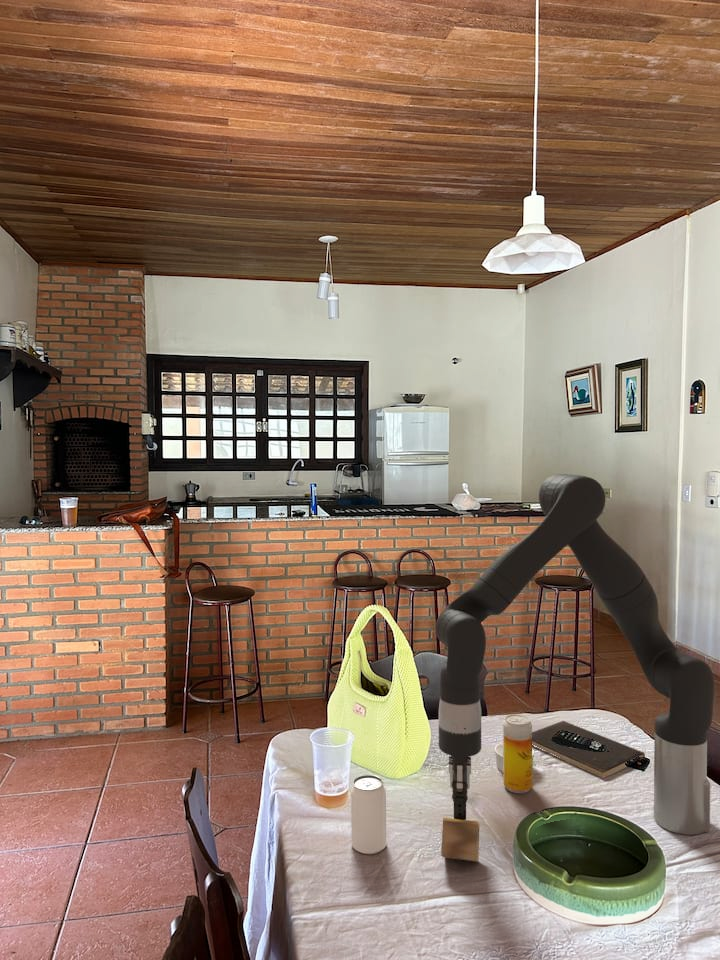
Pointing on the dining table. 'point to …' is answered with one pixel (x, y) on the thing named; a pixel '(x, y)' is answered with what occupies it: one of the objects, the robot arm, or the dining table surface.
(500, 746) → the ramekin
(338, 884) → the dining table surface
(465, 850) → the cube
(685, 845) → the dining table surface
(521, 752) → the beer can
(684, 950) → the dining table surface
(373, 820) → the can
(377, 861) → the dining table surface
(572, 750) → the hardcover book
